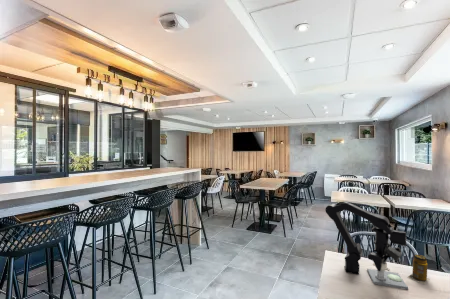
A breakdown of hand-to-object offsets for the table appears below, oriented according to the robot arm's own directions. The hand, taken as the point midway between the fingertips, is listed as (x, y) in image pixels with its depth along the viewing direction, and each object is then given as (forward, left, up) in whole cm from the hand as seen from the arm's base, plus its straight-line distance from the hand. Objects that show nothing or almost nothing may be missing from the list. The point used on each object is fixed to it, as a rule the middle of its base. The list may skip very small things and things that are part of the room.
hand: (381, 269), depth 124 cm
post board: (+3, +2, -6) cm, 7 cm away
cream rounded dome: (0, 0, +1) cm, 1 cm away
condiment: (+20, +8, -6) cm, 22 cm away
